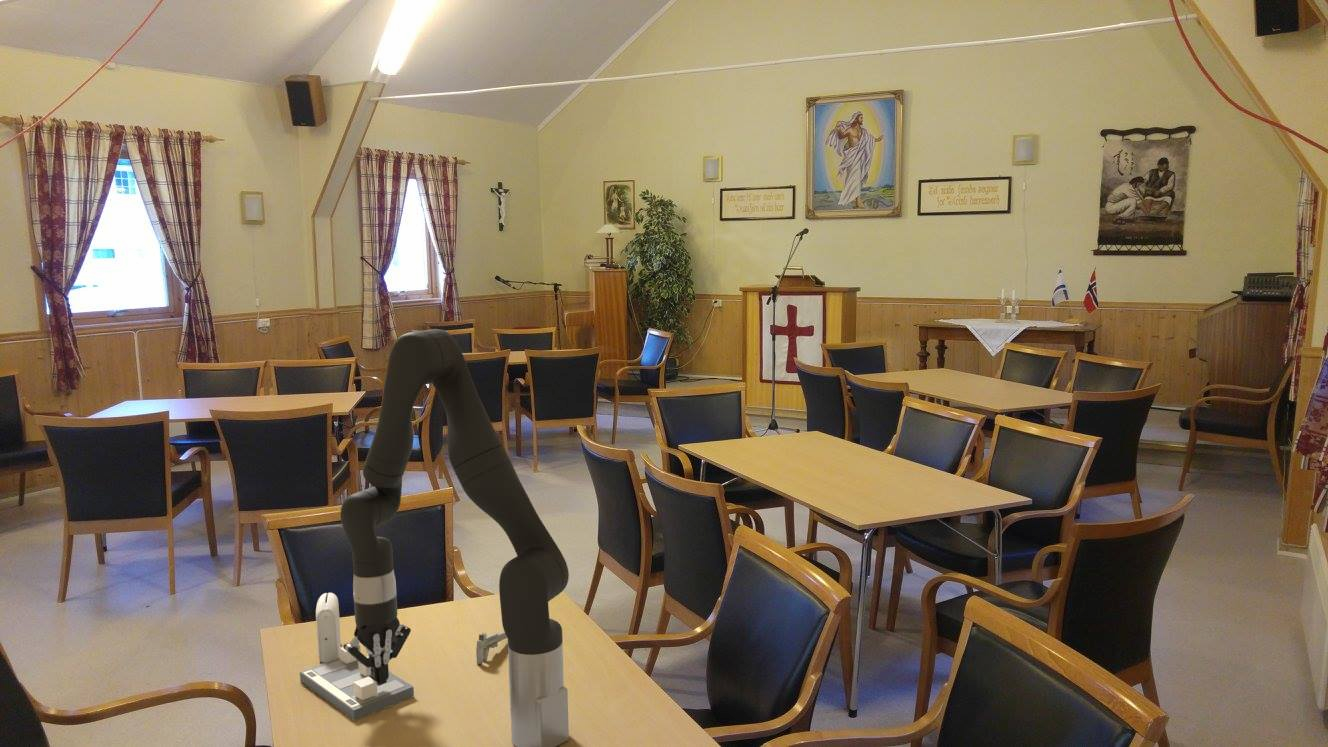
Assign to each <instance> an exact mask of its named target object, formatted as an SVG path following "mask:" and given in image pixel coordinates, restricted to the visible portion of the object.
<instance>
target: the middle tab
mask: <svg viewBox="0 0 1328 747" xmlns="http://www.w3.org/2000/svg"><path fill="white" fill-rule="evenodd" d="M366 657H367V658H368V655H367V656H366ZM358 666H359V672H360V673H361V674H363V675H364V676H366V677H367V676H370V675H371V667H369V668H368V667H366V666H364V665H363V664H361V663H360V662H359V661H358Z"/></svg>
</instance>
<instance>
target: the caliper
mask: <svg viewBox="0 0 1328 747" xmlns="http://www.w3.org/2000/svg"><path fill="white" fill-rule="evenodd" d="M506 639H508V638H507V636H506V634H505V631H504V630H502V631H500V632H498V633H496V632H493V633H490V634H488V635H487V633H484V632H482V633H481V634H479V635H478V640H477V641H476V649H475V653H476V654H475V656H476V664H477V665H481V664H482V665H483V661H486V660H487V661H488V657H489V652H490V648H491V649H494V648H496V647H498V646H499V645H498V643H499V642H502V641H504V640H506ZM487 661H486V662H487ZM482 665H481V666H482Z"/></svg>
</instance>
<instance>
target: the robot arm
mask: <svg viewBox="0 0 1328 747" xmlns="http://www.w3.org/2000/svg"><path fill="white" fill-rule="evenodd" d="M430 384H432V386H433V387H434V389H435V390H436V393H437V394H438V397H439V399H440V401H441V402H442V405H443V408H444V411H445V415H446V423H447V453H448V457H449V462H450V464H451V467H452V469H453V471H454V473H455V475H456V478H457V479H458V482H459V484H460V485H461V488H462V489H463V491H464V493H465V494H466V496H467V497H468V498H469V500H470V501H471V502H473V503H474V504H475V505H476V506H477V507H478V509H480V510H481V511H482V512H484V513H485V514H486V515H488V516H489V517H490V518H491V519H492V520H494V521H495V522H496V523H497V524H498V525H499V526H500V527H501V529H502V530H503V531H504V532H505V534H506V536H507V538H508V539H509V541H510V543H511V545H512V548H513V549H514V551H515V554H516V556H515V557H513V558H512V559H510V560H509V561H507V562H506V563H505V564H504V566H502V568H501V573H499V574H500V575H499V581H498V582H499V584H498V585H499V586H498V590H499V591H498V592H499V604H500V613H501V624H502V630H503V631H505V634H506V636H507V638H506V639H507V650H508V651H507V653H508V654H507V655H508V656H507V657H508V677H509V678H508V679H509V705H510V708H509V709H510V710H509V711H510V728H511V729H510V731H511V742H512V744H513V745H514V746H515V747H557V746H559V745H561V744H563V743H565V742H567V741H569V740H570V732H569V730H570V729H569V727H570V726H569V697H568V695H569V694H568V688H567V687H566V686H564V685H565V682H564V680H565V676H564V645H563V644H564V642H563V641H564V640H563V628H562V626H561V624H560V623H559V622H558V621H557V620H555V619H553V618H550V609H549V602H551V601H552V600H553V599H554V598H556V597H557V596H559V595H560V594H561V593H562V592H563V591H565V589H566V588H567V585H568V583H569V579H570V578H569V577H570V572H569V568H568V563H567V562H566V561H567V560H566V559H565V557H564V555H563V554H562V551H561V550H560V548H559V546H558V545H557V543H556V541H555V540H554V539H553V537H552V535H551V534H550V532H549V530H548V529H547V527H546V526H545V524H544V523H543V521H542V520H541V518H540V516H539V514H538V513H537V511H536V509H535V507H534V505H533V503H532V502H531V499H530V498H529V495H528V494H527V492H526V490H525V488H524V486H523V484H522V482H521V480H520V478H519V476H518V475H517V472H516V469H515V467H514V466H513V462H512V461H511V458H510V456H509V455H508V453H507V450H506V449H505V447H504V445H503V443H502V440H501V439H500V437H499V435H498V434H497V432H496V430H495V428H494V426H493V423H492V421H491V419H490V417H489V415H488V413H487V410H486V409H485V406H484V404H483V402H482V399H481V398H480V396H479V394H478V391H477V389H476V386H475V383H474V380H473V378H472V375H471V371H470V370H469V367H468V364H467V361H466V358H465V357H464V354H463V351H462V350H461V347H460V345H459V343H458V341H457V340H456V339H455V338H454V336H453V335H452V334H451V333H449V332H448V331H446V330H444V329H439V328H430V329H425V330H417V331H410V332H407V333H404V334H402V335H400V336H399V337H398V338H397V339H396V340H395V341H394V343H393V345H392V347H391V351H390V353H389V357H388V362H387V368H386V374H385V382H384V386H383V393H382V398H381V399H382V400H381V406H380V411H379V416H378V421H377V425H376V428H375V432H374V435H373V438H372V442H371V444H370V447H369V449H368V452H367V456H366V458H365V461H364V463H363V467H362V476H363V478H364V480H365V481H366V482H367V483H368V484H370V485H369V487H368V488H367V489H363V490H359V491H357V492H354V493H353V494H350V495H348V496H347V497H346V498H345V499H344V500H343V502H342V504H341V508H340V512H339V513H340V514H339V516H340V522H341V526H342V528H343V531H344V535H345V537H346V540H347V542H348V545H349V547H350V550H351V553H352V567H353V569H352V570H353V580H352V582H353V583H352V590H353V592H352V597H353V605H354V608H353V609H354V620H355V621H354V622H355V629H354V633H353V636H354V637H352V639H351V641H350V642H346V643H344V644H343V648H344V649H345V650H346V651H347V652H348V653H349V654H351V655H352V656H353V657H354V658H355V659H356V660H358V661H359V662H360V663H361V664H363V665H364V666H366V667H368V668H369V667H371V678H372V679H373V680H375V681H376V682H377V685H382V684H384V683H386V682H387V679H388V677H389V672H390V671H389V663H390V661H391V660H392V659H396V658H397V657H398V656H399V654H400V652H401V650H402V648H403V647H404V645H405V643H406V641H407V639H408V637H409V635H410V633H411V632H412V630H411V628H410V627H409V626H406V625H405V624H403V623H402V624H401V623H400V620H399V618H398V599H397V582H396V581H397V580H396V576H395V570H394V557H393V556H394V554H393V553H394V552H393V545H392V542H391V541H390V540H389V539H388V538H387V537H384V536H377V535H376V530H375V527H378V526H380V525H383V524H385V523H388V522H390V521H391V520H392V519H393V518H394V517H395V516H396V514H397V512H398V511H399V509H400V506H401V502H402V501H401V500H402V491H403V490H402V488H403V476H404V473H405V471H406V468H407V466H408V462H409V461H410V457H411V454H412V451H413V447H414V439H415V438H414V436H415V435H414V428H413V420H412V418H413V416H412V415H413V409H414V405H415V402H416V400H417V398H418V396H419V394H420V392H421V390H422V389H423V387H424V385H430ZM360 644H361V645H362V646H363V647H364V648H365V651H366V653H367V656H368V658H367V656H366V655H364V654H363V653H362V652H361V646H360Z"/></svg>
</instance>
